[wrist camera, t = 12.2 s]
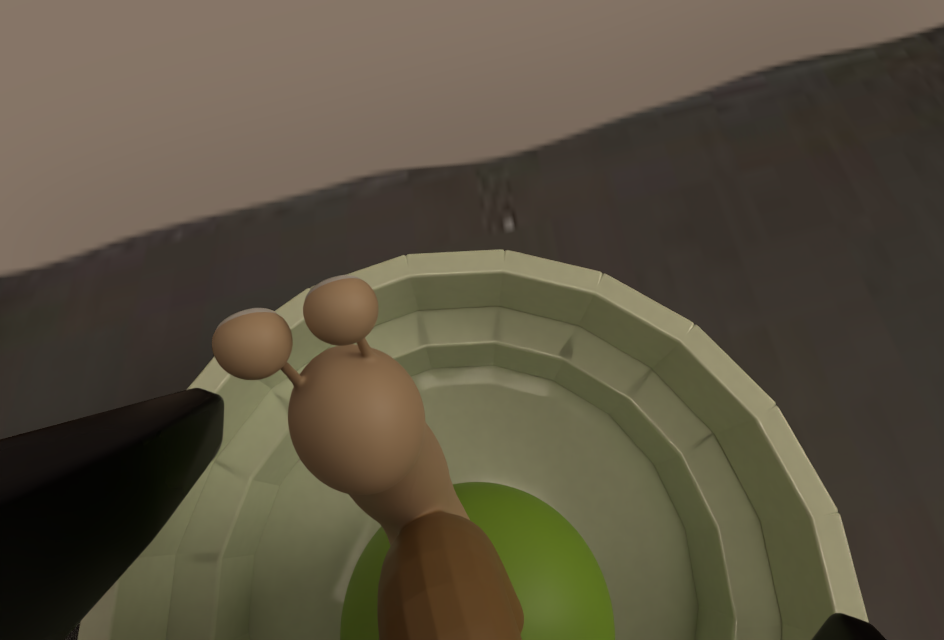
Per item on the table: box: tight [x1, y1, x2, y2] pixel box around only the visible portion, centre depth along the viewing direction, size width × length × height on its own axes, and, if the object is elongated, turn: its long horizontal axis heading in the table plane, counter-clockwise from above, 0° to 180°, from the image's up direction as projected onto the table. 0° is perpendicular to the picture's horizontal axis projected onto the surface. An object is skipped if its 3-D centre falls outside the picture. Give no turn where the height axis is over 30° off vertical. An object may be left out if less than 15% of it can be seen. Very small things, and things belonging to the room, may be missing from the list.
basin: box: [77, 249, 869, 640], centre depth 13 cm, size 14×14×5 cm
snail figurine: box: [212, 275, 615, 640], centre depth 9 cm, size 5×6×12 cm
